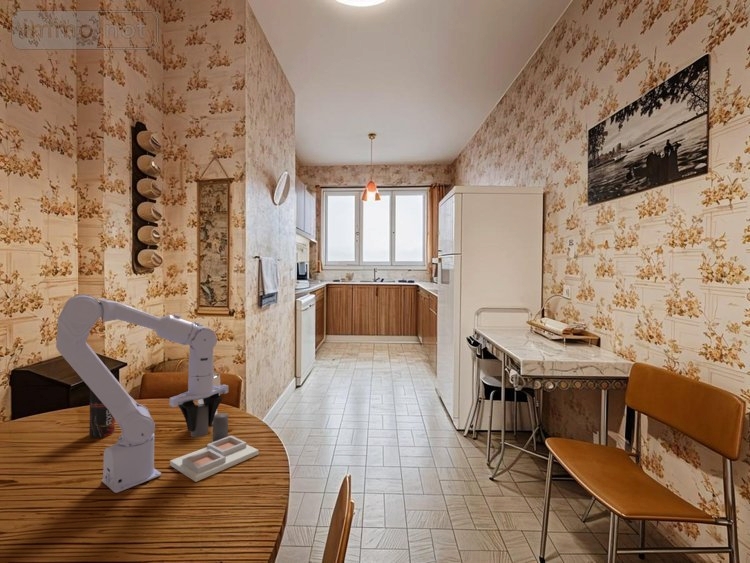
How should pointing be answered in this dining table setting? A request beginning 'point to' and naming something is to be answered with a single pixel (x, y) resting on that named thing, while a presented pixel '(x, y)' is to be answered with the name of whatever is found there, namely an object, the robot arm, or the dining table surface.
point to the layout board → (214, 458)
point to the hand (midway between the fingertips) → (200, 427)
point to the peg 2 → (220, 426)
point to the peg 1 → (201, 421)
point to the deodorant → (100, 418)
